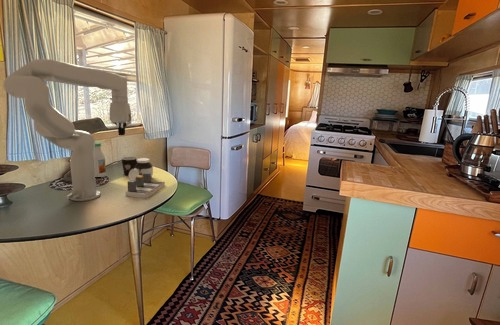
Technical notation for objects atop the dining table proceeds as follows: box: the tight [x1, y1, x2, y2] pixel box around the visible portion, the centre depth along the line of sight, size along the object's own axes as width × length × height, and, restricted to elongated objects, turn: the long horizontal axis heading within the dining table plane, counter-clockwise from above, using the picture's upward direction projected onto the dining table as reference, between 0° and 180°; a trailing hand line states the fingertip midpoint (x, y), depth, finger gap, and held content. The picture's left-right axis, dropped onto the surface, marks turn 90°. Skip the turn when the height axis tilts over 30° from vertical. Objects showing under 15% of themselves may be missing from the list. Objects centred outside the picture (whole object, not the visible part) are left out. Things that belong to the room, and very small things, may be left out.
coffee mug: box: [121, 156, 138, 176], centre depth 167 cm, size 12×9×10 cm
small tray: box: [125, 172, 165, 199], centre depth 141 cm, size 20×11×7 cm, turn 172°
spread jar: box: [128, 157, 154, 181], centre depth 159 cm, size 12×11×12 cm
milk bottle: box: [94, 142, 107, 178], centre depth 158 cm, size 8×8×20 cm
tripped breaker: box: [135, 175, 144, 186], centre depth 141 cm, size 3×3×5 cm
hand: (121, 134), depth 145 cm, fingers closed
